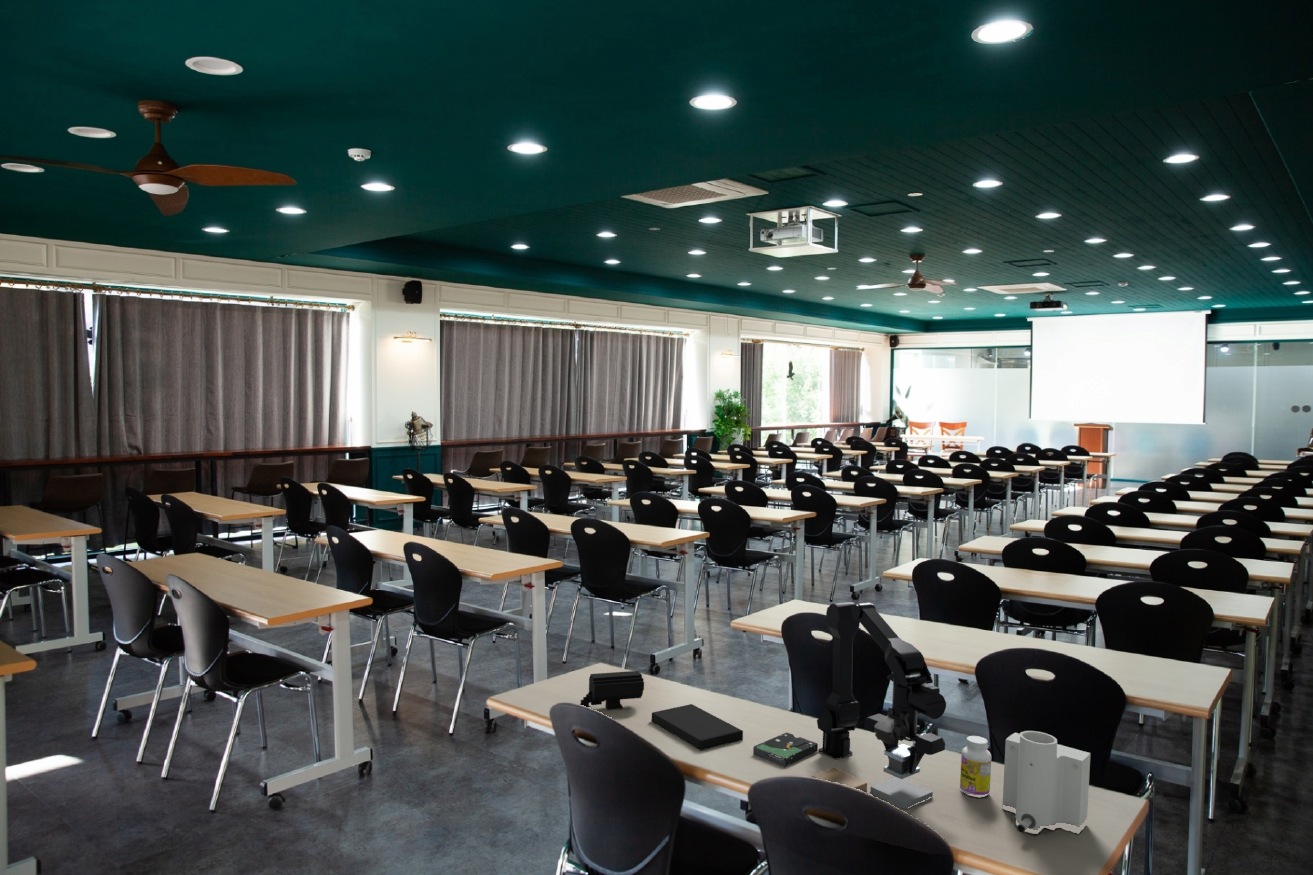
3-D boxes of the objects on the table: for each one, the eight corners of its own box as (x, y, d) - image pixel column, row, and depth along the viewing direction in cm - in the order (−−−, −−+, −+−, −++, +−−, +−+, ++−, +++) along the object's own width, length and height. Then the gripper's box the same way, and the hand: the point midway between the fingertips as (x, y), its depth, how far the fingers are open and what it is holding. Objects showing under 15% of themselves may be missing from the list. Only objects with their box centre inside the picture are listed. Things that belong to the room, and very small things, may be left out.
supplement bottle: (953, 788, 204) (956, 735, 203) (975, 784, 206) (978, 732, 205) (973, 801, 197) (975, 746, 197) (995, 797, 200) (998, 743, 199)
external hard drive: (700, 752, 221) (700, 740, 221) (651, 723, 241) (651, 712, 240) (742, 741, 229) (743, 730, 229) (691, 714, 249) (692, 703, 248)
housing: (901, 764, 203) (902, 743, 203) (919, 772, 199) (920, 751, 199) (883, 771, 199) (884, 750, 198) (901, 779, 195) (902, 758, 195)
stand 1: (811, 783, 204) (812, 775, 204) (834, 775, 209) (834, 767, 209) (844, 799, 196) (844, 791, 196) (866, 791, 201) (867, 782, 201)
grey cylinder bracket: (1087, 825, 187) (1091, 735, 187) (1060, 857, 173) (1065, 760, 173) (1011, 800, 198) (1015, 716, 197) (981, 828, 184) (985, 737, 183)
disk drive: (785, 742, 231) (752, 756, 220) (786, 731, 230) (752, 745, 220) (818, 753, 223) (785, 769, 213) (818, 743, 223) (785, 758, 213)
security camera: (578, 706, 251) (579, 673, 250) (638, 701, 256) (639, 669, 256) (583, 715, 244) (584, 680, 244) (644, 710, 250) (645, 676, 249)
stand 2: (870, 792, 200) (870, 786, 200) (896, 782, 206) (896, 776, 206) (906, 809, 192) (906, 803, 192) (932, 798, 198) (932, 791, 198)
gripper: (850, 698, 201) (847, 763, 201) (918, 723, 186) (915, 793, 187) (880, 689, 208) (877, 752, 208) (947, 713, 193) (944, 781, 193)
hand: (901, 769), depth 199 cm, fingers closed on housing, 5 cm apart
